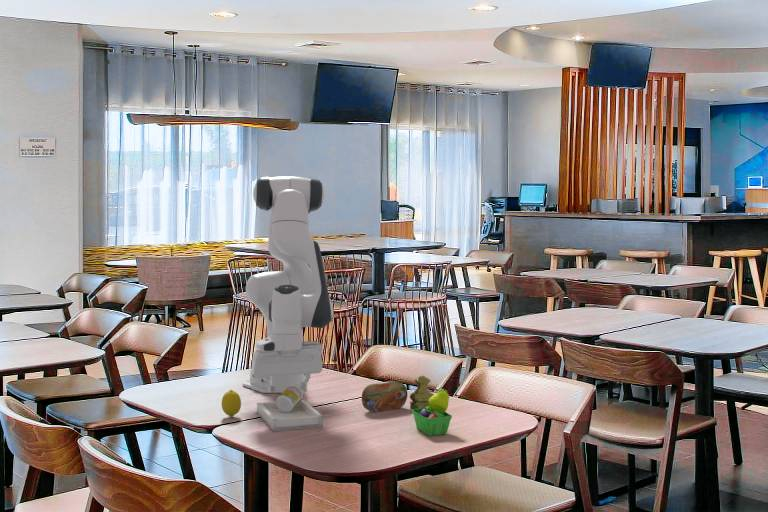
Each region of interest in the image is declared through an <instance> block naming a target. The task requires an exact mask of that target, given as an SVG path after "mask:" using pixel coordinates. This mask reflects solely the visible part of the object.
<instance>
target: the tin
mask: <svg viewBox="0 0 768 512" xmlns="http://www.w3.org/2000/svg"><path fill="white" fill-rule="evenodd" d="M407 398H408V389H407V386H406V385H405V384H404V383H403V382H401V381H398V380H397V381H395V380H390V381H385V382H378V383H370V384H369V385H367V386H365V388H364V389H363V391H362V392H361V403H362V406H363V408H364V409H365V410H367V411H369V412H371V413H376V412H377V413H382V412H387V411H388V412H389V411H395V410H399V409H402V407H403V406H404V405H405V404H406V403H407ZM377 413H376V414H377Z"/></svg>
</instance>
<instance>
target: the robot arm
mask: <svg viewBox="0 0 768 512" xmlns="http://www.w3.org/2000/svg"><path fill="white" fill-rule="evenodd" d="M252 196H253V200H254V202H255V206H256V207H258V208H259V209H260V210H262V211H267V212H268V211H270V216H269V224H268V226H269V228H268V246H267V247H268V252H269V254H270V255H271V256H272V257H273V258H274V259H276V260H278V261H279V262H282V265H283V270H279V271H275V270H274V271H264V272H259V273H256V274H252V275H250V277H249V278H248V279H247V281H246V285H245V294H246V297H247V299H248V300H249V301H250V302H251V303H252V304H253V305H254V306H255V307H257V309H259V311H260V312H261V313H262V316H263V318H264V320H265V324H266V331H267V333H266V334H267V335H266V336H267V337H265V338H263V339H260V340H258V341H256V342H255V349H256V350H255V351H254V352H253V354H252V359H251V361H252V362H251V368H250V369H251V370H250V374H249V375H250V376H249V380H246V381H243V382H242V386H243V387H245V388H248V389H250V388H251V390H254V391H257V392H259V393H262V394H273V393H277V394H278V393H279V394H280V393H281V394H282V393H283V392H284V391H285V390H286V389H287V388H288V387H289V386H293V385H295V384H300V385H301V386H300V389H301V390H303V389H304V390H307V388H308V387H307V385H308V382H309V381H310V379H311V374H320V373H321V372H322V371H323V360H322V354H323V345H322V343H320V342H319V341H318V340H311V341H307V340H306V341H304V339H303V328H309V327H310V328H316V329H324V328H325V327H327V326H328V325H329V324H330V323H331V322H332V320H333V317H334V307H333V303H332V301H331V300H332V299H331V298H330V295H329V291H328V283H327V282H328V281H327V277H326V270H325V266H324V265H325V264H324V260H323V256H322V253H321V252H322V251H321V247H320V245H319V243H318V242H317V241H316V240H313V238H312V236H311V233H310V230H309V214H311V212H316V211H317V210H319V209H320V208H321V207H322V205H323V202H324V200H325V189H324V187H323V183H322V182H321V180H320V179H317V178H314V177H309V178H307V177H303V176H291V175H290V176H273V177H270V176H263V177H259V179H257V180H256V183H255V184H254V186H253V192H252Z"/></svg>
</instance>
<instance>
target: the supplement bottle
mask: <svg viewBox="0 0 768 512" xmlns="http://www.w3.org/2000/svg"><path fill="white" fill-rule="evenodd" d="M300 386H301V385H300V384H295V385H293V386H289V387H288V388H287V389H286V390H285V391H284V392H283V393H281V394H280V395H278V397H277V398H276V400H275V401H276V406H277V408H278V409H279V410H280V411H282V412H285V413H287V412H290V411H291V410H292V409H293V408H294V407H295V406H296V405H297V404H298V403H299V402H300V401H301V399H303V395H304V394H305V393H306V392H305V390H306V389H303V390H301V389H300Z"/></svg>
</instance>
